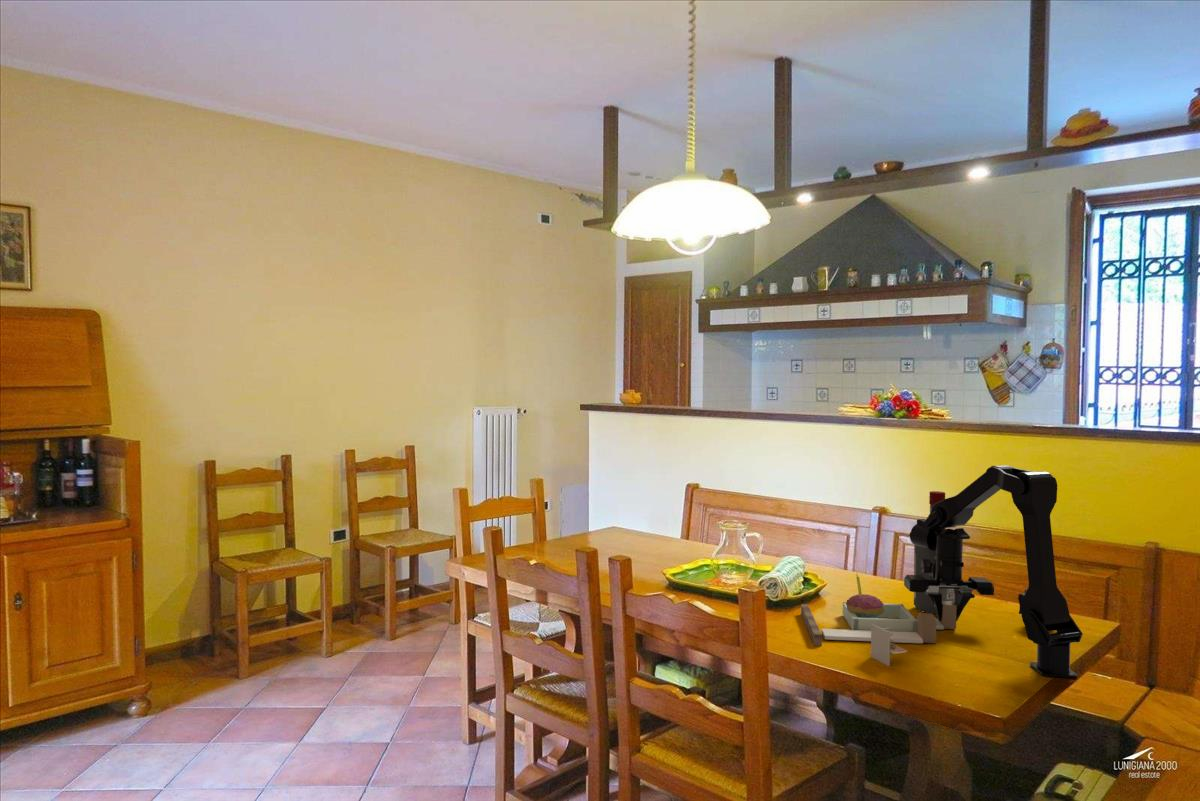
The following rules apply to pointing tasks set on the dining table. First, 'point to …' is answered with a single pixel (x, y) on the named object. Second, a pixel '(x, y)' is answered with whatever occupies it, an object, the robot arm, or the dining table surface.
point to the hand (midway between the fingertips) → (947, 620)
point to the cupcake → (865, 604)
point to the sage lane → (906, 619)
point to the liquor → (921, 598)
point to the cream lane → (891, 632)
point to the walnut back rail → (811, 625)
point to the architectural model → (883, 645)
